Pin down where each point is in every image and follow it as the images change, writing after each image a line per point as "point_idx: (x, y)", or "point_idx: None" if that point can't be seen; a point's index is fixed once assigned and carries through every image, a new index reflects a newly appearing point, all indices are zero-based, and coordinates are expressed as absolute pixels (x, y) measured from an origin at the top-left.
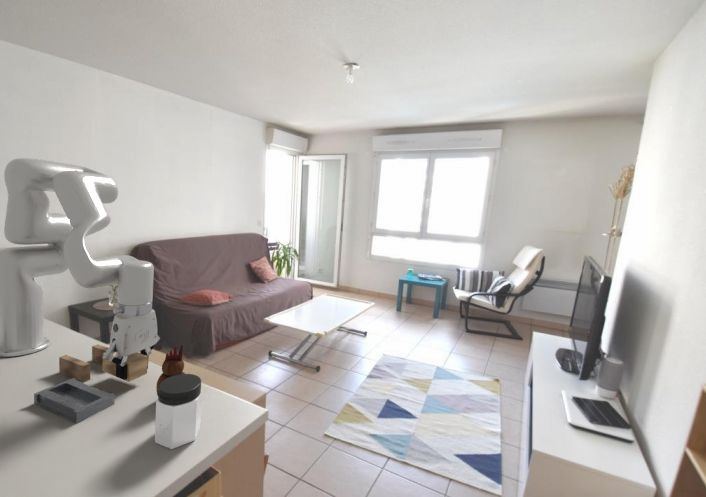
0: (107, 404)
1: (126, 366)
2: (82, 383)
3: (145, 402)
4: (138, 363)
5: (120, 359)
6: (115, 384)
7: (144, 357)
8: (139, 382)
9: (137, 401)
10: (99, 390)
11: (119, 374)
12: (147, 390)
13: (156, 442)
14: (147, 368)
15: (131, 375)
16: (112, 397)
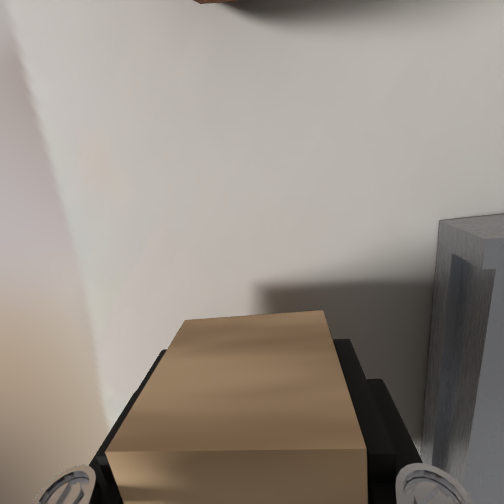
0: (500, 219)
1: (373, 437)
2: (469, 479)
3: (335, 76)
4: (240, 409)
5: None
6: None
7: (149, 455)
8: None
9: (354, 134)
10: (489, 355)
11: (387, 397)
12: (245, 207)
13: None
14: (163, 351)
15: (310, 336)
16: (486, 233)
